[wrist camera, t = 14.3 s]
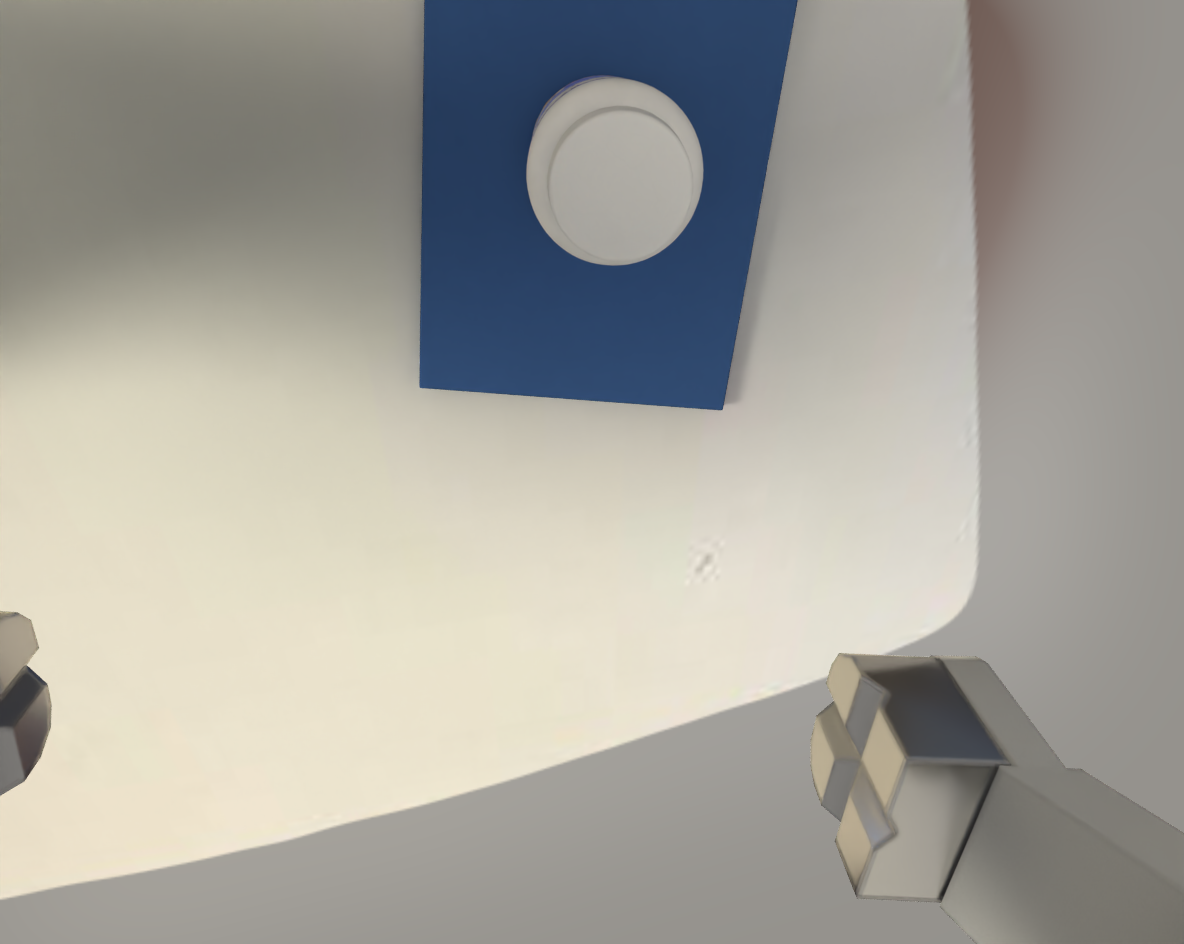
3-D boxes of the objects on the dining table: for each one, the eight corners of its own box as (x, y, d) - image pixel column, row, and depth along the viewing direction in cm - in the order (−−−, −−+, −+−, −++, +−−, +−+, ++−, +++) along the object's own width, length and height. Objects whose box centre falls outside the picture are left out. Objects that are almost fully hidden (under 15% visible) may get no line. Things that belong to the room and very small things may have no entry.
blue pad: (421, 383, 36) (419, 388, 35) (428, -202, 27) (426, -207, 26) (720, 405, 37) (722, 410, 36) (820, -147, 28) (825, -151, 28)
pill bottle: (691, 196, 32) (747, 248, 24) (561, 248, 33) (569, 317, 24) (645, 48, 30) (688, 45, 21) (505, 107, 31) (492, 128, 22)
